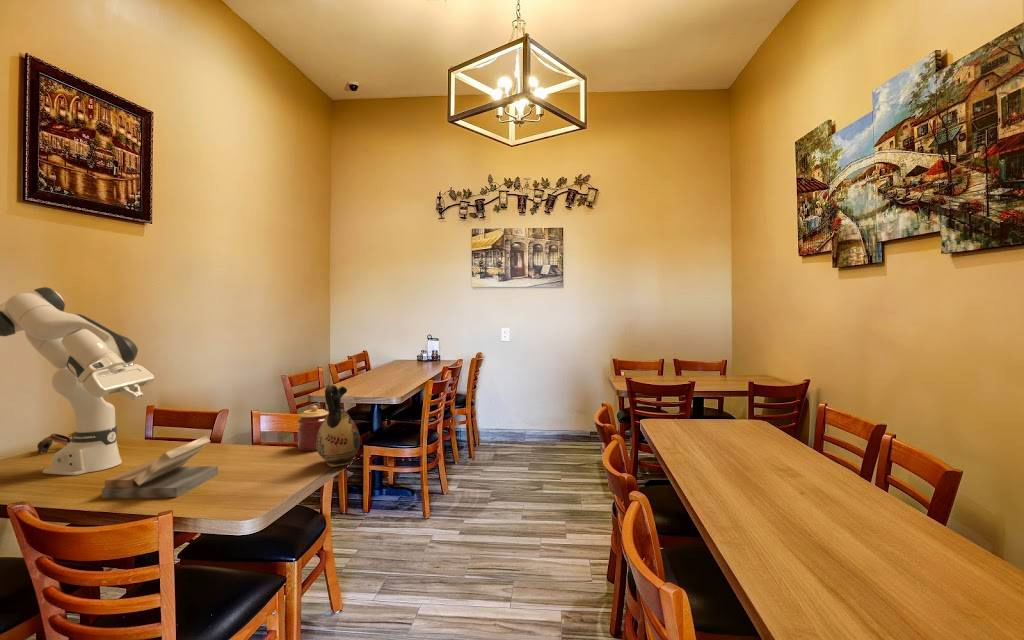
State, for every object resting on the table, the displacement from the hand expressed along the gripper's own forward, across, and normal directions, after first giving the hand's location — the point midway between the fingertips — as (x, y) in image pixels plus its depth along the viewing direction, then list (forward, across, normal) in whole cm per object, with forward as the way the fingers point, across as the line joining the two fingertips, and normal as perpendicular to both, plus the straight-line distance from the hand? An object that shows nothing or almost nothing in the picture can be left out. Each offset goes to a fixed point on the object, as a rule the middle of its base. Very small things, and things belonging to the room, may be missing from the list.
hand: (138, 397), depth 151 cm
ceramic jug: (+61, -22, +18) cm, 68 cm away
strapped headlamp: (-28, -34, -74) cm, 86 cm away
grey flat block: (+26, +1, -15) cm, 30 cm away
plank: (+24, 0, -7) cm, 25 cm away
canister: (+49, -43, +3) cm, 65 cm away
